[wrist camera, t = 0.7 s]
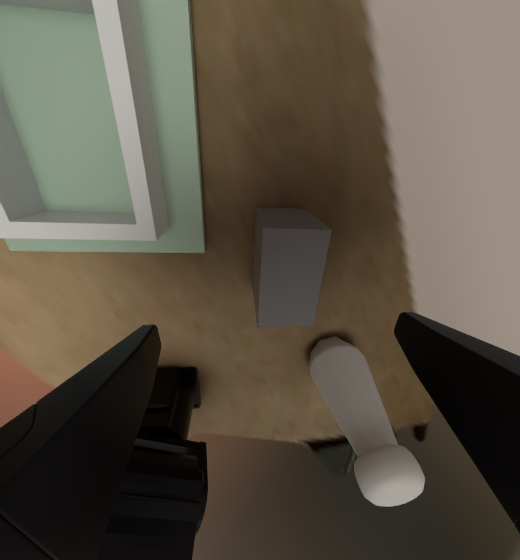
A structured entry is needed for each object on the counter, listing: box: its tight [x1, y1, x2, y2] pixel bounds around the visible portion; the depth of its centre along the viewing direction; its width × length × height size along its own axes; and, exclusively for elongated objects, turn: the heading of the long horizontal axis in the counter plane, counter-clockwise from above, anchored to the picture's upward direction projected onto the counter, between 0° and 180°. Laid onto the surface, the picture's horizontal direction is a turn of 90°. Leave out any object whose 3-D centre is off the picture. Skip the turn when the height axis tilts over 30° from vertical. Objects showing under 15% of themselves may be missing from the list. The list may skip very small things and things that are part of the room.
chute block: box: [253, 207, 332, 327], centre depth 18 cm, size 7×4×6 cm, turn 177°
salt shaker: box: [309, 336, 425, 506], centre depth 21 cm, size 6×6×13 cm
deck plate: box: [0, 0, 206, 253], centre depth 13 cm, size 16×14×4 cm
